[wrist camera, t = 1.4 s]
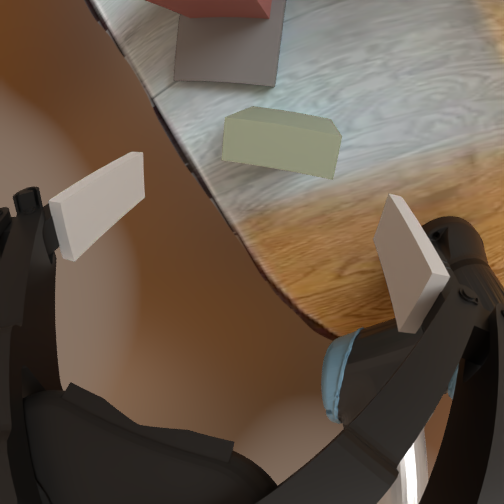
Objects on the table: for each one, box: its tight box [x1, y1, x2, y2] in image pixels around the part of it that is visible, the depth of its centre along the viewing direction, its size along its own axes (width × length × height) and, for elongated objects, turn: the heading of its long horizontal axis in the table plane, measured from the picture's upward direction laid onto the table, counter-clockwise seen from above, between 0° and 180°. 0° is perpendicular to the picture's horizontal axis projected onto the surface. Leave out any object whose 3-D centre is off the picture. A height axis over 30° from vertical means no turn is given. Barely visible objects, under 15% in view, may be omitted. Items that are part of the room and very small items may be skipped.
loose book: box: [222, 106, 342, 180], centre depth 29 cm, size 4×10×13 cm, turn 84°
